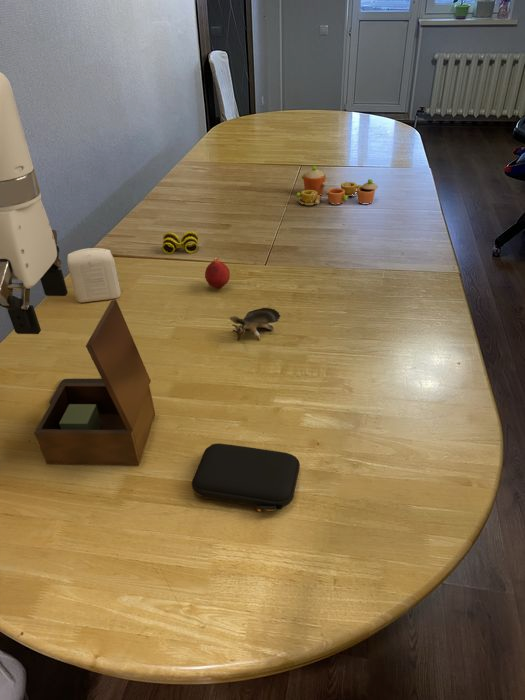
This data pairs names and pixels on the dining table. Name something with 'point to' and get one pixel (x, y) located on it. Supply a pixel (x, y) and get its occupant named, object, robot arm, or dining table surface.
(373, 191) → the toy tea set
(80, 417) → the block
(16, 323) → the robot arm
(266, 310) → the brown animal figure
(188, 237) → the opera glasses
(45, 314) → the dining table surface
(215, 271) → the onion
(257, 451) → the carrying case
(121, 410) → the lid
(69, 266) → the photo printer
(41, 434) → the keepsake box
